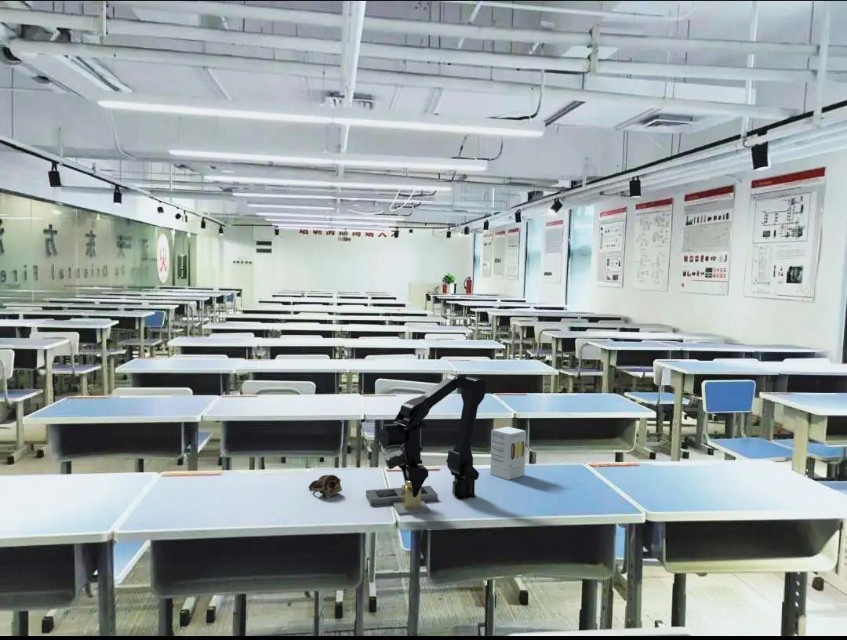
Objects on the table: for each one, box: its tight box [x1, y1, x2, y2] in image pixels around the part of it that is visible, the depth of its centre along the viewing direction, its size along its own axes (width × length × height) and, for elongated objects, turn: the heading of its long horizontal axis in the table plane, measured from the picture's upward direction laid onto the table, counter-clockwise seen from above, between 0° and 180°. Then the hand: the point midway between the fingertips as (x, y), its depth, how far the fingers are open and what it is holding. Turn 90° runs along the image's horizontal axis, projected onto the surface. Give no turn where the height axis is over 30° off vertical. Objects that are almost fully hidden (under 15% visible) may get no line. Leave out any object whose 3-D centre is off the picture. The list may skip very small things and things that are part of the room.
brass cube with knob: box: [401, 479, 422, 509], centre depth 197 cm, size 5×5×8 cm
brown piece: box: [308, 474, 343, 499], centre depth 210 cm, size 7×13×10 cm
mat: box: [391, 500, 432, 516], centre depth 197 cm, size 10×10×1 cm
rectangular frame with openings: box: [365, 485, 439, 507], centre depth 206 cm, size 22×9×2 cm, turn 105°
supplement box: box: [489, 426, 527, 481], centre depth 232 cm, size 10×9×17 cm
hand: (411, 491), depth 197 cm, fingers open, 9 cm apart
